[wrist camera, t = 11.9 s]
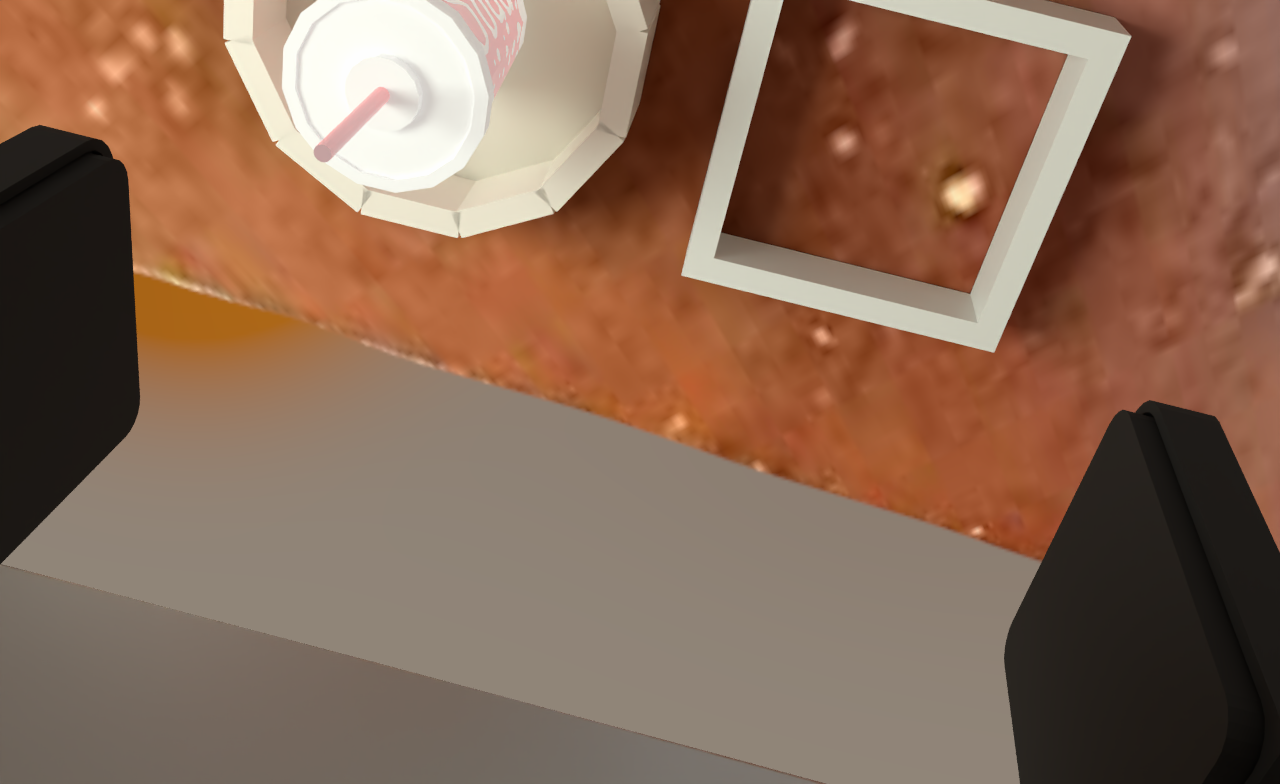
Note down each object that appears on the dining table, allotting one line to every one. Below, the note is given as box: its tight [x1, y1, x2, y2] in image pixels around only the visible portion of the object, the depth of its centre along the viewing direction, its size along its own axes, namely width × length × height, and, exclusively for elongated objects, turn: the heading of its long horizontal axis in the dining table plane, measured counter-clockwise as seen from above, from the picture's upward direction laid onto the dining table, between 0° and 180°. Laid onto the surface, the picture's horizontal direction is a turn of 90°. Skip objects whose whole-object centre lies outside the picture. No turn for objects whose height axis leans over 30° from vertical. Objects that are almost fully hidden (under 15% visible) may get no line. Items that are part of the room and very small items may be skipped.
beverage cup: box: [282, 0, 527, 193], centre depth 36 cm, size 6×6×14 cm
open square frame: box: [682, 0, 1131, 352], centre depth 42 cm, size 12×12×2 cm
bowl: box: [223, 0, 661, 238], centre depth 41 cm, size 14×14×4 cm
